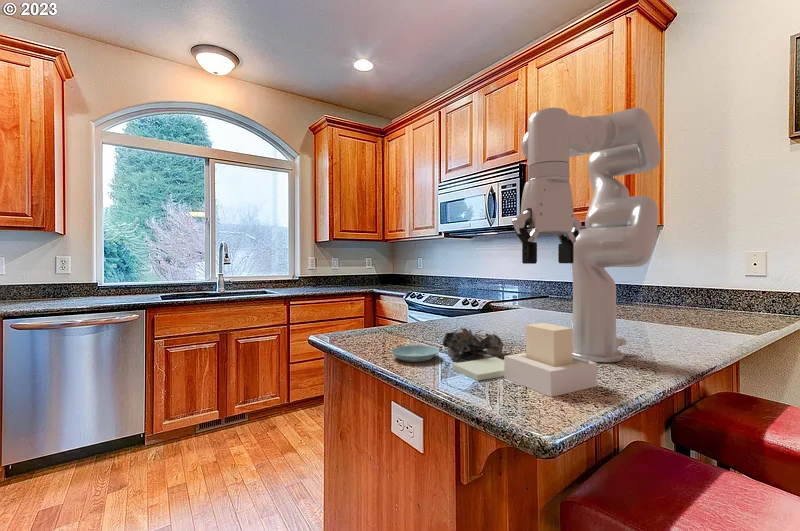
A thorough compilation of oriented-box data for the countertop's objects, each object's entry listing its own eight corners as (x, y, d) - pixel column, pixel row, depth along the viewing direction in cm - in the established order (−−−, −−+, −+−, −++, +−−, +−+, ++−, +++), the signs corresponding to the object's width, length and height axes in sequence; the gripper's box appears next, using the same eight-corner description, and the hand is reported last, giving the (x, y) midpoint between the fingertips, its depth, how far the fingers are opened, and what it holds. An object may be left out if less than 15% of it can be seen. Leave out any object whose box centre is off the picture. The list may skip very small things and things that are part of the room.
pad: (495, 362, 89) (495, 357, 89) (523, 372, 81) (523, 366, 81) (452, 369, 84) (452, 363, 84) (477, 380, 76) (477, 374, 76)
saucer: (381, 358, 95) (381, 349, 95) (418, 350, 102) (418, 342, 102) (410, 369, 85) (410, 358, 85) (449, 360, 92) (449, 350, 92)
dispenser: (547, 369, 83) (547, 347, 83) (596, 386, 72) (596, 360, 72) (504, 377, 77) (504, 353, 77) (550, 396, 67) (550, 368, 67)
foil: (514, 348, 89) (460, 314, 89) (489, 386, 90) (435, 352, 90) (504, 336, 100) (456, 305, 101) (481, 369, 101) (434, 339, 102)
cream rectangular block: (544, 375, 79) (544, 322, 79) (572, 385, 73) (572, 328, 72) (526, 379, 77) (526, 324, 76) (553, 389, 70) (553, 330, 70)
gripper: (564, 183, 81) (563, 263, 81) (500, 175, 73) (500, 263, 74) (595, 176, 74) (595, 263, 74) (529, 166, 67) (529, 263, 67)
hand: (548, 263), depth 74 cm, fingers open, 9 cm apart
